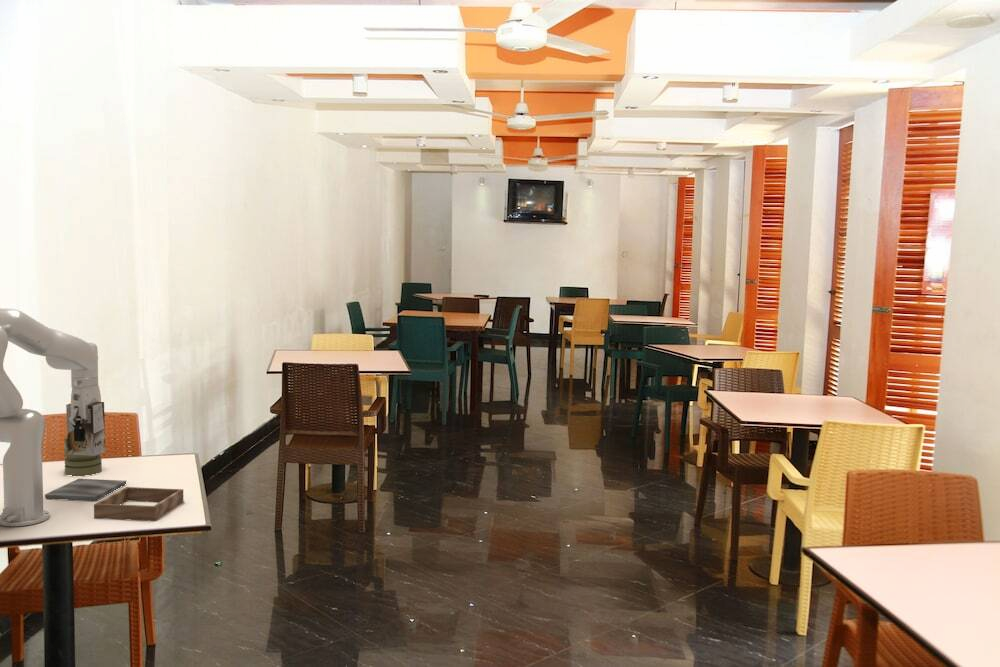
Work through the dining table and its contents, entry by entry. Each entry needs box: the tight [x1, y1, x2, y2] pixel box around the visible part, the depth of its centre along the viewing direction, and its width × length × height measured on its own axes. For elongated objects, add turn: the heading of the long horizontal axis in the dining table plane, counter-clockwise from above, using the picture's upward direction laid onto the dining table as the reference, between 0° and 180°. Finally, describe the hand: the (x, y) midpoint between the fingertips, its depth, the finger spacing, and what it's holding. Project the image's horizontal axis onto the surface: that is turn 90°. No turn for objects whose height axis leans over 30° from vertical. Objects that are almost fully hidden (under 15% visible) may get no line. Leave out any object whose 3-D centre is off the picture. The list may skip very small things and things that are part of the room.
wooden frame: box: [93, 486, 184, 522], centre depth 239 cm, size 18×18×4 cm
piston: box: [63, 436, 103, 477], centre depth 277 cm, size 11×12×11 cm
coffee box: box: [65, 401, 106, 456], centre depth 253 cm, size 9×6×16 cm
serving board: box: [44, 478, 127, 502], centre depth 255 cm, size 18×16×2 cm
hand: (86, 437), depth 254 cm, fingers closed on coffee box, 6 cm apart
